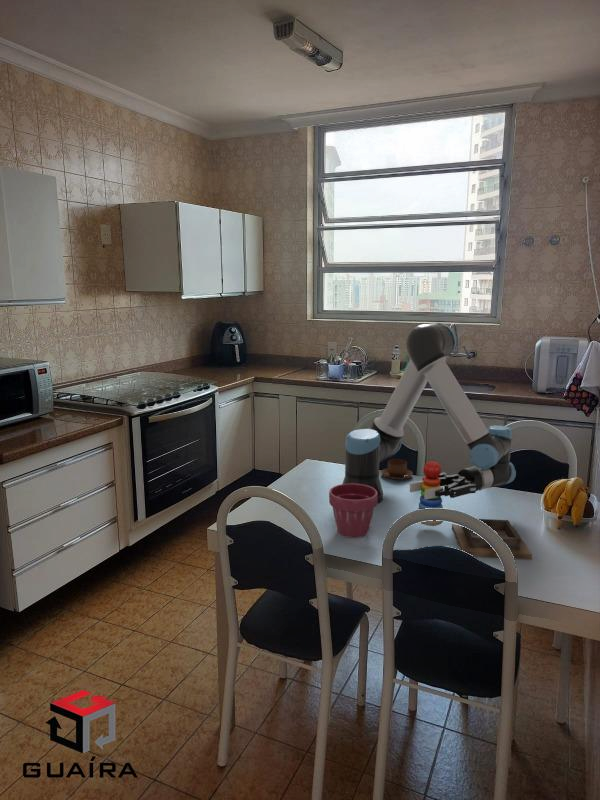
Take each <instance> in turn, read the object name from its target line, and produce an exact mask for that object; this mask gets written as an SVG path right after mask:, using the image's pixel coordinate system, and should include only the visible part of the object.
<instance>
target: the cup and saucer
mask: <svg viewBox="0 0 600 800" xmlns="http://www.w3.org/2000/svg"><path fill="white" fill-rule="evenodd" d="M407 465H408V462H407V460H404V459H402V458H391V459H389V460H387V467H386V468H383V469H382V470H381V474H382V475H383V476H384V477H386V478H388V479H392V480H405V479H406V480H407V479H409V478H411V477H412V476H413V474H414V472H413V471H412V470H411V469H408V466H407ZM404 475H408V476H405V477H404Z"/></svg>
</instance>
